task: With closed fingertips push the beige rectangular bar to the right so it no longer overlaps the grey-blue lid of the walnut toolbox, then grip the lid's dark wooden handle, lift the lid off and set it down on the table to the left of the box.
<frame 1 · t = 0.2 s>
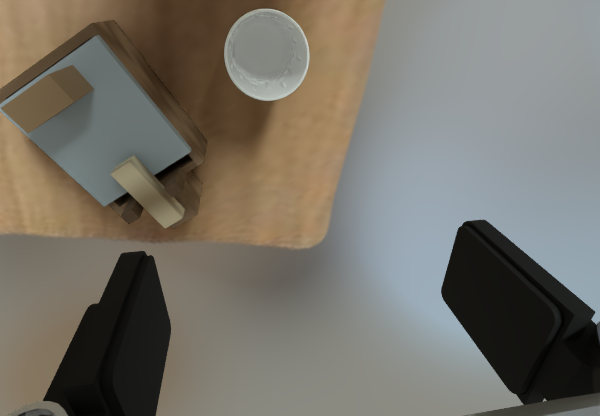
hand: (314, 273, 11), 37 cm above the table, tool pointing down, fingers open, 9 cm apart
lid: (103, 128, 36), point 7 cm above the table, touching toolbox
beige rectangular bar: (150, 192, 37), point 9 cm above the table, slide at 0.0 cm
white cup: (260, 46, 41), on the table
toolbox: (124, 113, 42), on the table
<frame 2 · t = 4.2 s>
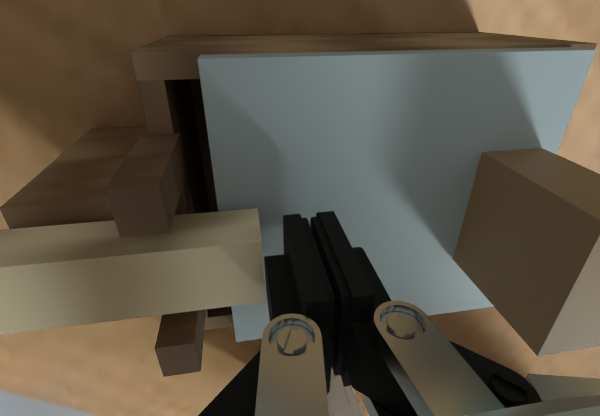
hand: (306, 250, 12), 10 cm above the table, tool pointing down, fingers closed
lid: (380, 205, 15), point 7 cm above the table, touching toolbox
beige rectangular bar: (135, 267, 11), point 9 cm above the table, slide at 1.6 cm, touching gripper
white cup: (296, 352, 29), on the table
toolbox: (329, 148, 20), on the table
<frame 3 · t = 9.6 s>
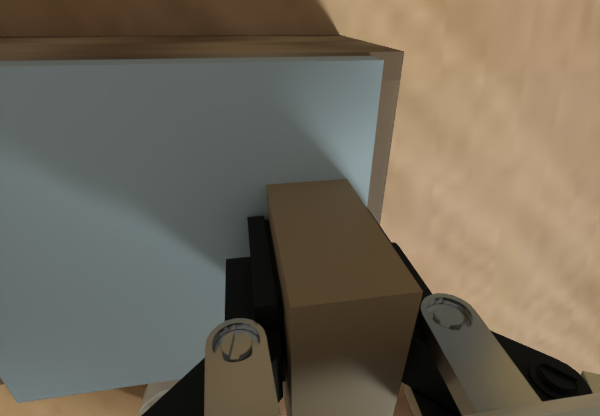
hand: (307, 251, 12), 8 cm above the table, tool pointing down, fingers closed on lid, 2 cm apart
lid: (172, 243, 12), point 7 cm above the table, touching gripper
white cup: (193, 383, 27), on the table
toolbox: (182, 165, 18), on the table
when the fingers open (4 cm above the table, at t = 16.0 s): lid drops 3 cm, on the table.
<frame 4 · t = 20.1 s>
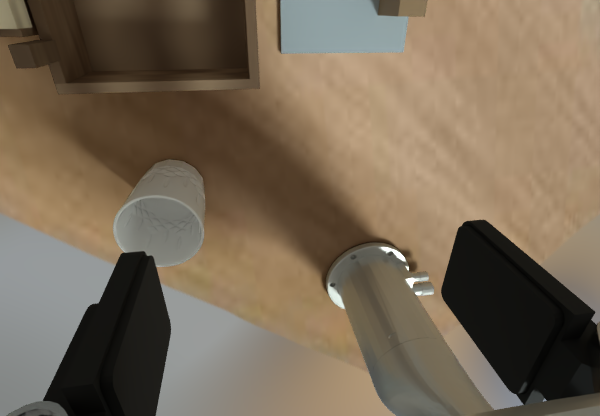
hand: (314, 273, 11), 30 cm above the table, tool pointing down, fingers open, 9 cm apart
white cup: (175, 185, 41), on the table
toolbox: (163, 7, 32), on the table
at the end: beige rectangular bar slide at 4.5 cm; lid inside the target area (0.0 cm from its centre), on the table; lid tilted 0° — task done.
